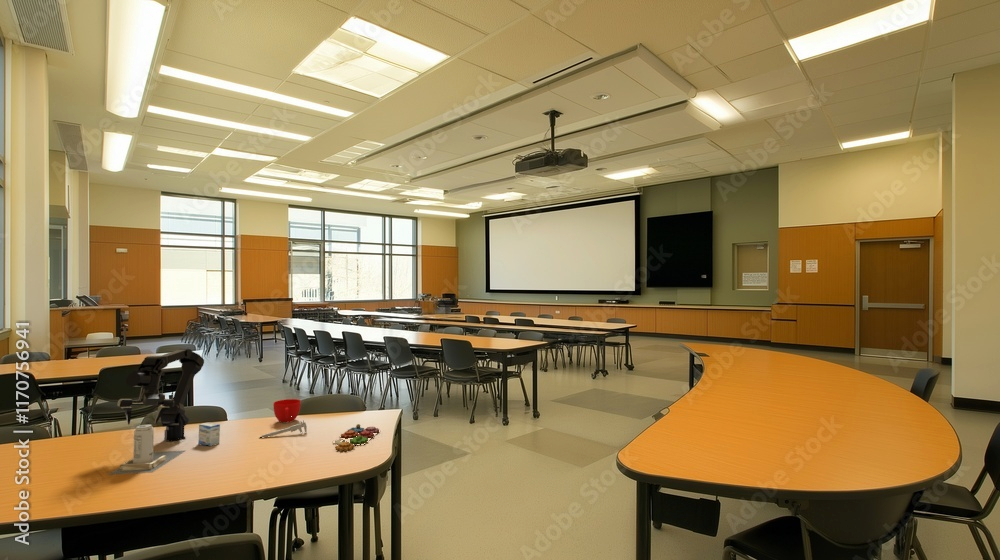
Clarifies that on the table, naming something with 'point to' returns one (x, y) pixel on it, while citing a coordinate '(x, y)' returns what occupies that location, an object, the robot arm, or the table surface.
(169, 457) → the mat
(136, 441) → the energy drink can
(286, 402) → the ceramic cup
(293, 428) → the caliper
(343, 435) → the gear puzzle
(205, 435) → the medicine box
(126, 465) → the pocket
